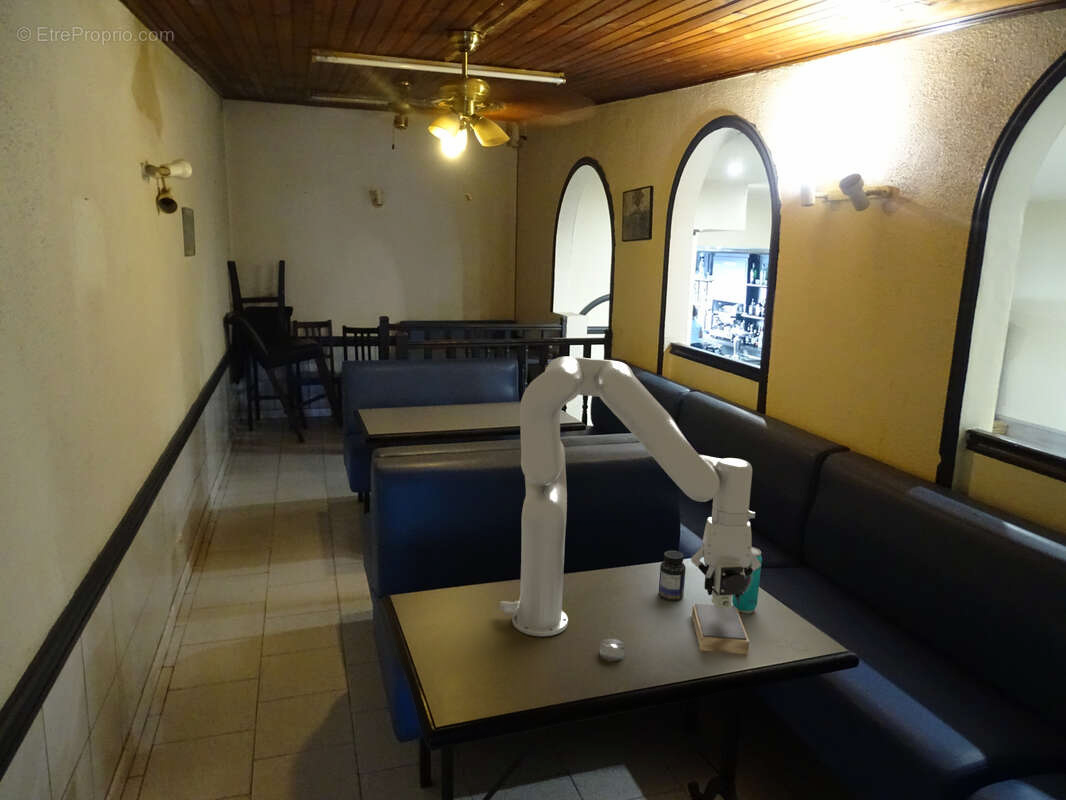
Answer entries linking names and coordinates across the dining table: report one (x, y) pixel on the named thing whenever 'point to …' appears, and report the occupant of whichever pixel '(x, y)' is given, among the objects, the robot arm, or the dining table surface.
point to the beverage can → (749, 589)
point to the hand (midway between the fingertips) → (722, 592)
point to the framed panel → (719, 629)
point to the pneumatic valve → (726, 583)
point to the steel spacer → (611, 649)
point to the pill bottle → (672, 576)
